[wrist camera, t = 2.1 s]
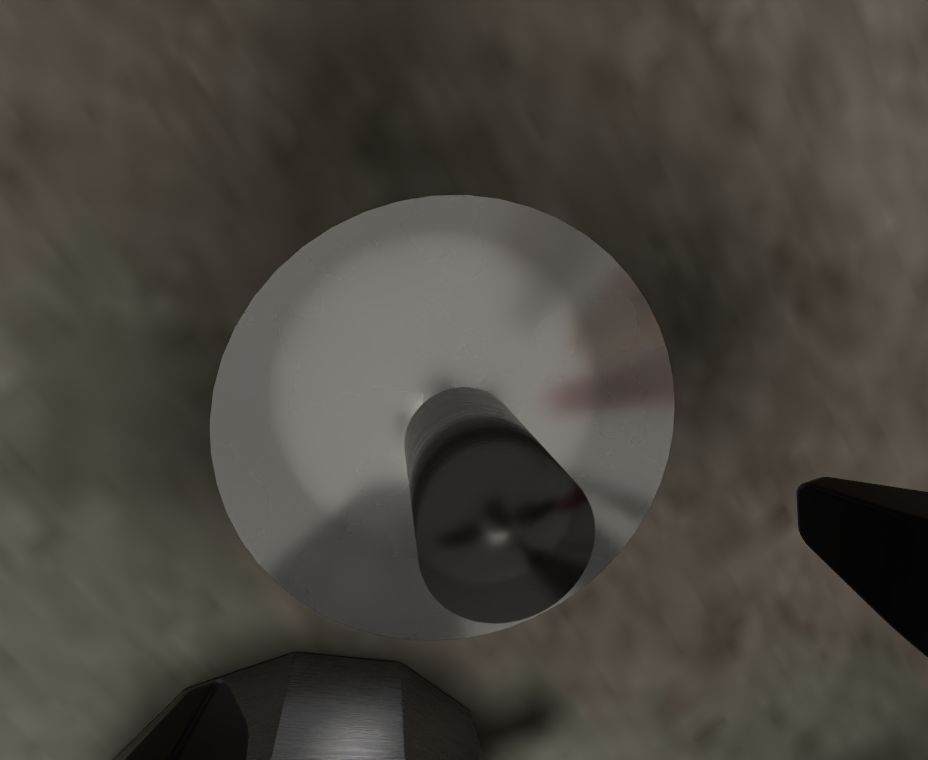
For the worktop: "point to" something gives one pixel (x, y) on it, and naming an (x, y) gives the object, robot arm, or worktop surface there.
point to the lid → (442, 417)
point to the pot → (344, 712)
